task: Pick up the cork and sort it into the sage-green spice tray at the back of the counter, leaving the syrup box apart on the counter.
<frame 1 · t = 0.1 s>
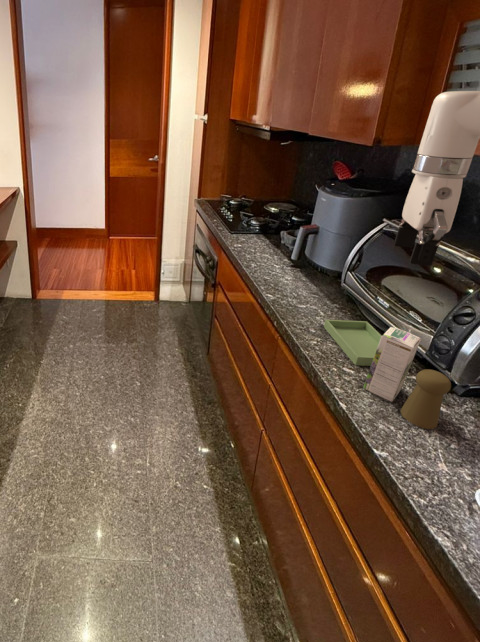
hand: (411, 254, 75), 32 cm above the worktop, tool pointing down, fingers open, 9 cm apart
syrup box: (381, 391, 87), on the worktop
spice tray: (360, 345, 102), on the worktop
cork: (418, 418, 79), on the worktop
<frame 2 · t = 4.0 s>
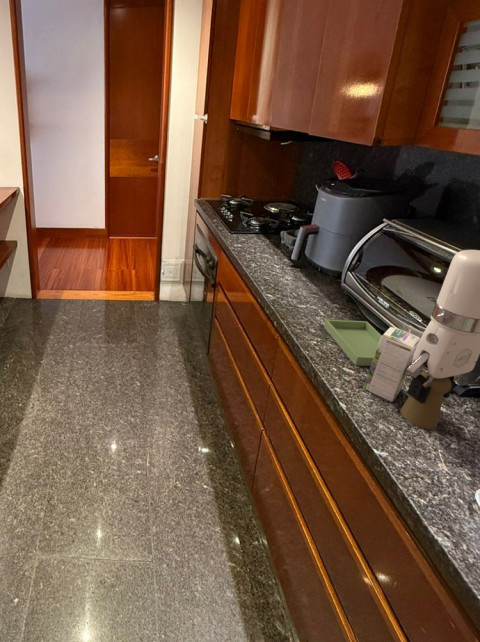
hand: (427, 394, 77), 6 cm above the worktop, tool pointing down, fingers closed on cork, 5 cm apart
cork: (418, 418, 79), on the worktop, touching gripper
everything else where it was.
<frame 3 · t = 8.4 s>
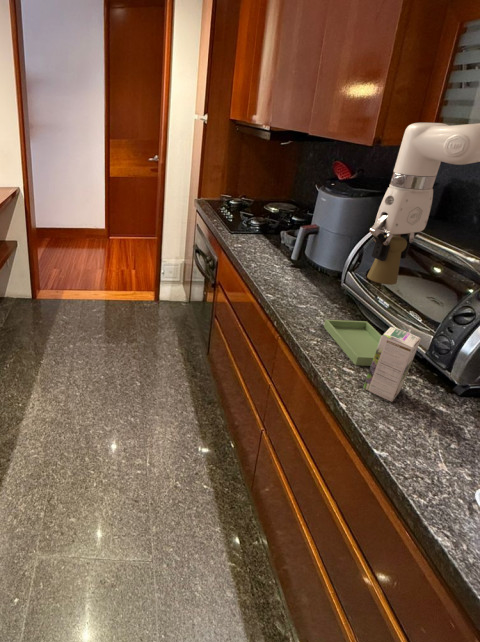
hand: (388, 256, 92), 26 cm above the worktop, tool pointing down, fingers closed on cork, 5 cm apart
cork: (381, 279, 94), point 20 cm above the worktop, touching gripper
everything else where it was.
when the fingers open (6 cm above the worktop, at t = 12.9 s): cork stays where it is, resting on spice tray.
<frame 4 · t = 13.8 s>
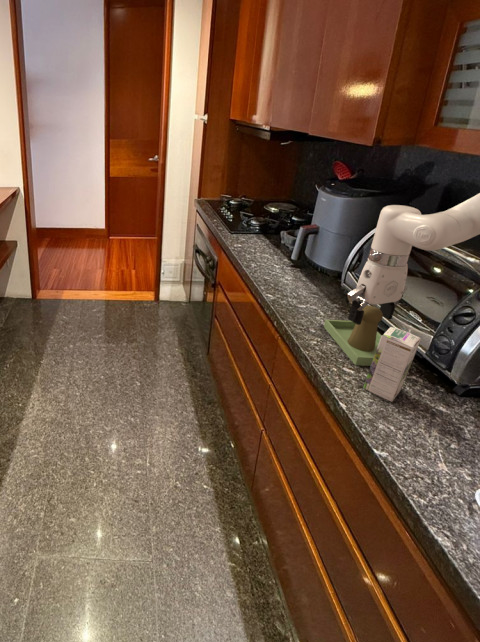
hand: (369, 319, 99), 8 cm above the worktop, tool pointing down, fingers open, 9 cm apart
cork: (360, 345, 102), resting on spice tray
everything else where it was.
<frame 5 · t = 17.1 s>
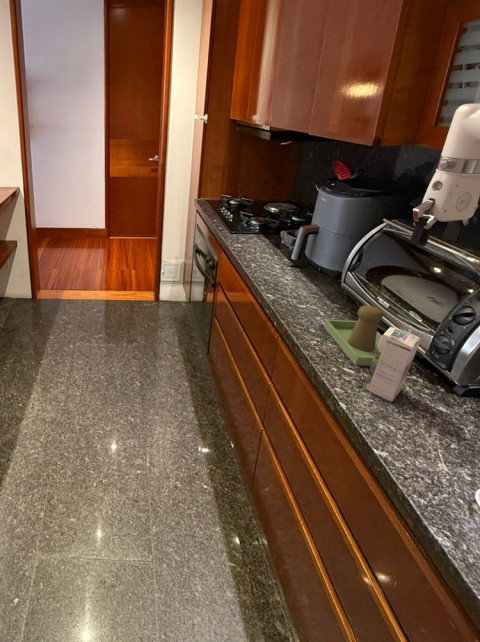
hand: (434, 242, 88), 30 cm above the worktop, tool pointing down, fingers open, 9 cm apart
nothing on the worktop moved.
at the end: cork inside the target area in the spice tray (0.1 cm from its centre), point 0.3 cm above the spice tray's base; cork tilted 0°; syrup box moved 0.2 cm from its start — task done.
